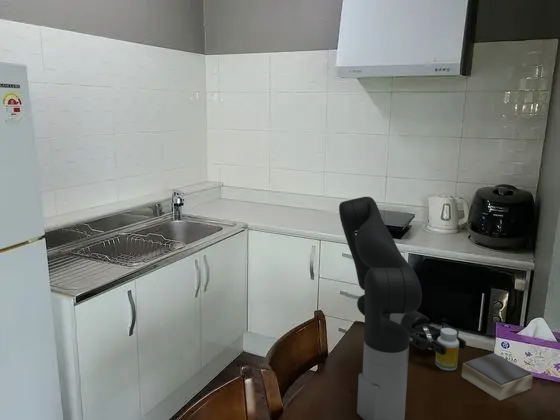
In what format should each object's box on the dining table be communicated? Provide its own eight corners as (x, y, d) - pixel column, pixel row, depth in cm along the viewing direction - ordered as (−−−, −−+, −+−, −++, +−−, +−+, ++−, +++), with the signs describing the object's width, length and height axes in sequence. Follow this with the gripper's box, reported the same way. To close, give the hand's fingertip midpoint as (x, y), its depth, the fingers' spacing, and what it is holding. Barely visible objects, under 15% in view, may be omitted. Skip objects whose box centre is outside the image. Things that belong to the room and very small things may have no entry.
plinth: (499, 400, 104) (501, 384, 103) (461, 376, 113) (462, 361, 113) (531, 388, 108) (533, 373, 108) (492, 366, 118) (493, 352, 117)
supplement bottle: (458, 372, 115) (462, 336, 113) (436, 370, 116) (439, 334, 114) (455, 361, 120) (458, 327, 119) (434, 359, 121) (436, 325, 120)
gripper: (390, 314, 126) (434, 340, 111) (429, 305, 132) (476, 329, 117) (388, 339, 127) (432, 368, 113) (427, 329, 134) (474, 355, 119)
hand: (454, 348), depth 115 cm, fingers open, 6 cm apart
